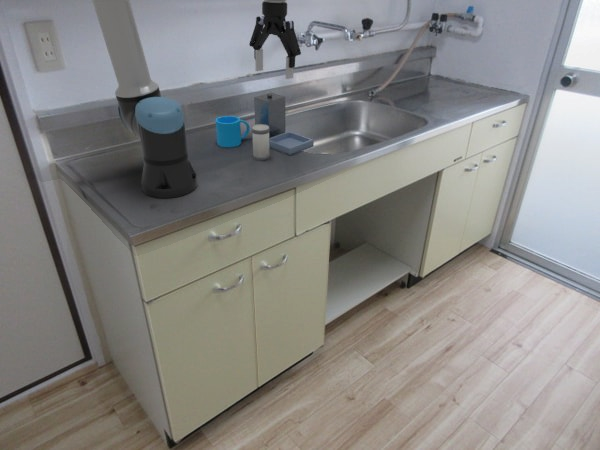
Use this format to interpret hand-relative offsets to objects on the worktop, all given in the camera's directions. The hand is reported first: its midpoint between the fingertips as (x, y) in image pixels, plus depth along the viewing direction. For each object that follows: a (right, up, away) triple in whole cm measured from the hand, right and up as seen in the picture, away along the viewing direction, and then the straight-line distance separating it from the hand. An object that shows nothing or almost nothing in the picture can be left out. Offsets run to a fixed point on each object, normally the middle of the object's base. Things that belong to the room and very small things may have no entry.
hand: (273, 74), depth 147 cm
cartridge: (-4, -27, 0) cm, 27 cm away
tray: (+5, -22, +8) cm, 24 cm away
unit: (-2, -17, +16) cm, 23 cm away
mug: (-14, -20, +11) cm, 27 cm away
